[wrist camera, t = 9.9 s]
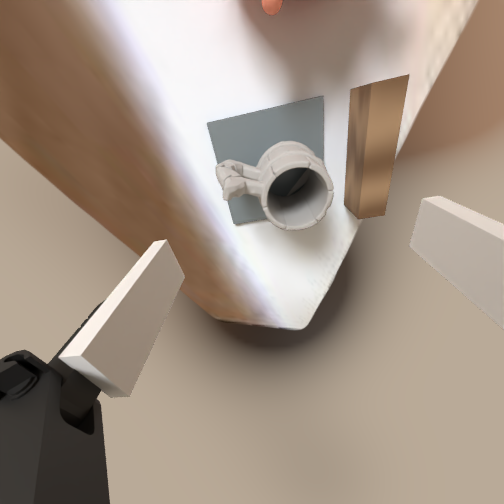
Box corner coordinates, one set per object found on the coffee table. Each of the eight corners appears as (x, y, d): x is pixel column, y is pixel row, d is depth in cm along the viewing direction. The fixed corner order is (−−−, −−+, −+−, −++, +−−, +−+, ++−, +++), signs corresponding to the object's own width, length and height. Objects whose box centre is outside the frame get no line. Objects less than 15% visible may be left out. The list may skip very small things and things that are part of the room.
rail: (350, 89, 22) (371, 83, 18) (380, 82, 21) (409, 74, 17) (343, 204, 29) (358, 219, 25) (366, 200, 28) (384, 215, 24)
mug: (304, 206, 29) (328, 255, 19) (220, 190, 28) (198, 232, 18) (325, 147, 24) (371, 168, 14) (227, 125, 23) (203, 132, 13)
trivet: (207, 122, 24) (206, 122, 23) (321, 96, 22) (323, 95, 22) (234, 222, 31) (233, 224, 30) (322, 207, 29) (323, 209, 29)
